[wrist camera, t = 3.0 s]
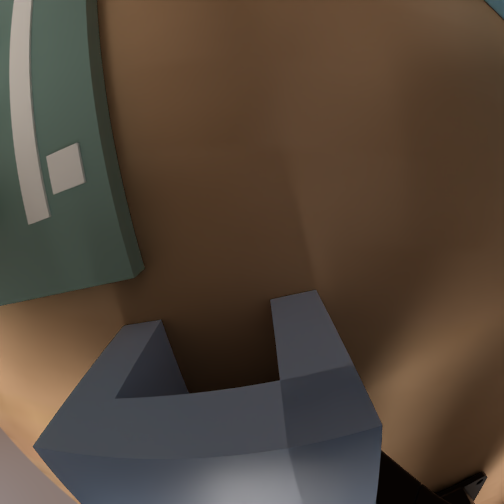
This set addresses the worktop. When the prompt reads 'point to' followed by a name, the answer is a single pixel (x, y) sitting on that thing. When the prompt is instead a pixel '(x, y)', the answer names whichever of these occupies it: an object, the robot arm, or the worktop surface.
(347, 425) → the housing
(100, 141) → the header board
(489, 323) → the worktop surface
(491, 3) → the data package
